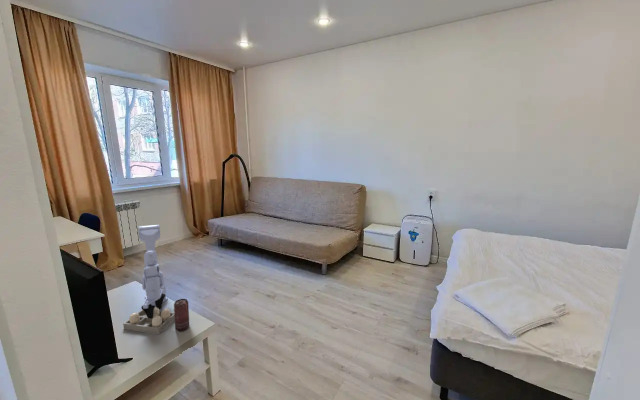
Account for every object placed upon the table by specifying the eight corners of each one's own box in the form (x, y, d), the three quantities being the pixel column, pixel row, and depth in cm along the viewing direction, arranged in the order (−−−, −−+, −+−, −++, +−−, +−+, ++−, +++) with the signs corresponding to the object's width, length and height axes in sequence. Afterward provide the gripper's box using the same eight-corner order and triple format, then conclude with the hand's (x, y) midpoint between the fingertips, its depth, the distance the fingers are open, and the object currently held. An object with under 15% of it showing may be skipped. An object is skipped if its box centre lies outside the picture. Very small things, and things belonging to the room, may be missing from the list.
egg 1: (134, 320, 132) (133, 310, 131) (142, 321, 132) (141, 311, 131) (128, 325, 128) (127, 315, 127) (135, 327, 128) (134, 316, 127)
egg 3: (156, 323, 131) (155, 313, 130) (164, 324, 130) (163, 314, 129) (150, 329, 127) (149, 318, 126) (158, 330, 126) (157, 319, 125)
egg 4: (165, 316, 136) (164, 306, 135) (172, 317, 136) (171, 307, 135) (159, 321, 133) (158, 311, 132) (166, 322, 132) (166, 312, 131)
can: (184, 333, 127) (182, 306, 124) (172, 330, 128) (170, 304, 125) (192, 325, 132) (191, 299, 130) (181, 323, 134) (179, 297, 131)
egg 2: (153, 315, 137) (152, 305, 136) (161, 315, 137) (160, 305, 136) (148, 320, 133) (147, 310, 132) (157, 320, 133) (156, 310, 132)
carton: (143, 313, 139) (143, 308, 139) (176, 318, 137) (175, 312, 137) (123, 329, 127) (123, 323, 127) (158, 334, 125) (158, 328, 125)
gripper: (153, 281, 139) (154, 305, 141) (135, 296, 125) (137, 322, 127) (167, 281, 139) (168, 305, 142) (150, 296, 125) (152, 322, 128)
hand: (154, 313), depth 135 cm, fingers open, 7 cm apart
